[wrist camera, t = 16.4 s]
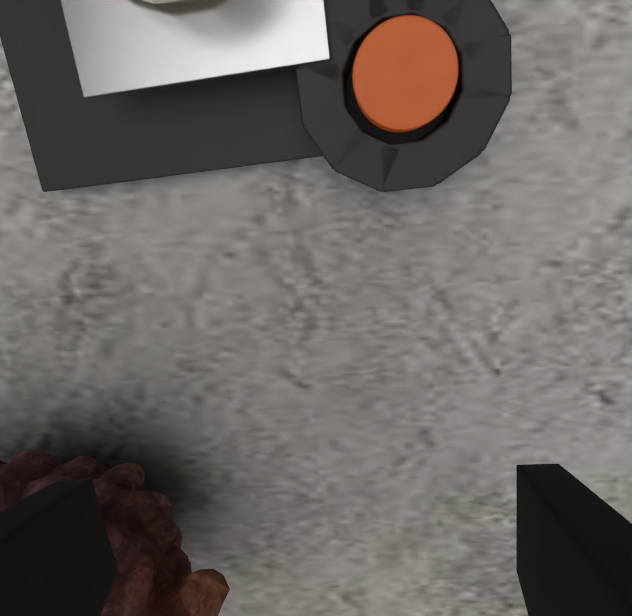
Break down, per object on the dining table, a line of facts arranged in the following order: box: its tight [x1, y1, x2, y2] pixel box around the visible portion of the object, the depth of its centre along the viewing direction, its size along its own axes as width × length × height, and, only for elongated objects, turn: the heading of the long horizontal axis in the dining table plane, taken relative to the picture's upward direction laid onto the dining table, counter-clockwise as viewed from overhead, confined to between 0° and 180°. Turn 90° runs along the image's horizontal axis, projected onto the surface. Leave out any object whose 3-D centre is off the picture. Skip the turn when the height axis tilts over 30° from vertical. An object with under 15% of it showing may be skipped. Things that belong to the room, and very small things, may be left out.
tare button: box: [352, 15, 459, 133], centre depth 12 cm, size 2×2×2 cm
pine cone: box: [0, 450, 230, 616], centre depth 17 cm, size 18×10×10 cm
